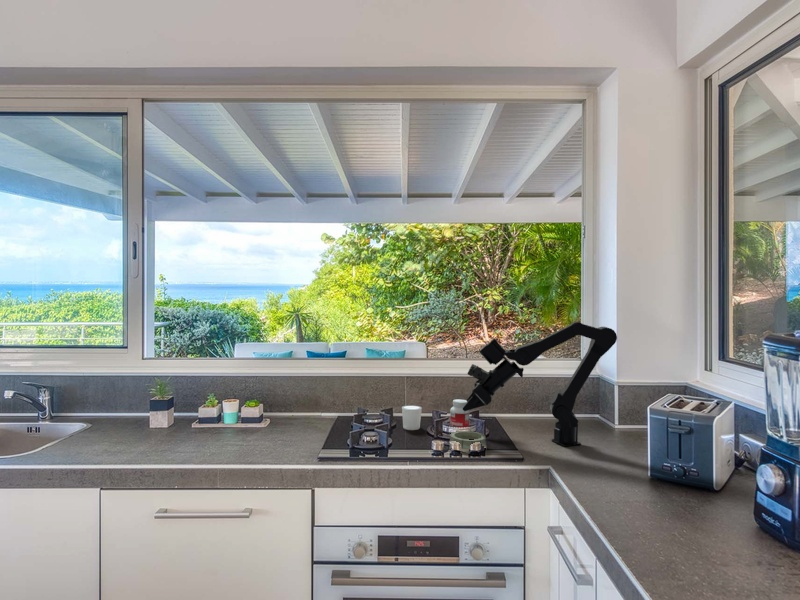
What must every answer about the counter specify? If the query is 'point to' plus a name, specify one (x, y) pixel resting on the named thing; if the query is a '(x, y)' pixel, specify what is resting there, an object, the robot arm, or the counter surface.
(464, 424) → the pill bottle
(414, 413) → the white cup
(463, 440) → the ring holder
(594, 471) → the counter surface
